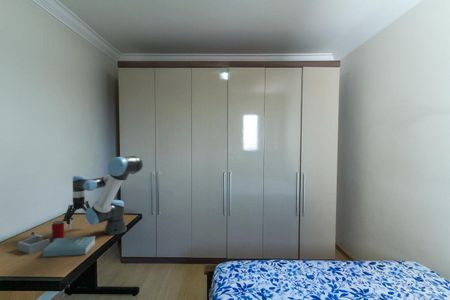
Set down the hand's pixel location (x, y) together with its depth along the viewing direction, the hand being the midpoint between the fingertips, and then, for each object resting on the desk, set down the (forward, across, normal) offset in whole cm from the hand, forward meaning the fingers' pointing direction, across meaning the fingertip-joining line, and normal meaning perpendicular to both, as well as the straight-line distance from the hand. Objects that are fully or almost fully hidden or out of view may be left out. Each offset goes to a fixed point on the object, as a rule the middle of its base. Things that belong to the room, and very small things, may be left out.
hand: (78, 225), depth 175 cm
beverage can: (+5, +15, 0) cm, 16 cm away
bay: (+5, +27, +1) cm, 28 cm away
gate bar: (+5, +21, -12) cm, 25 cm away
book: (+5, +22, +23) cm, 32 cm away
